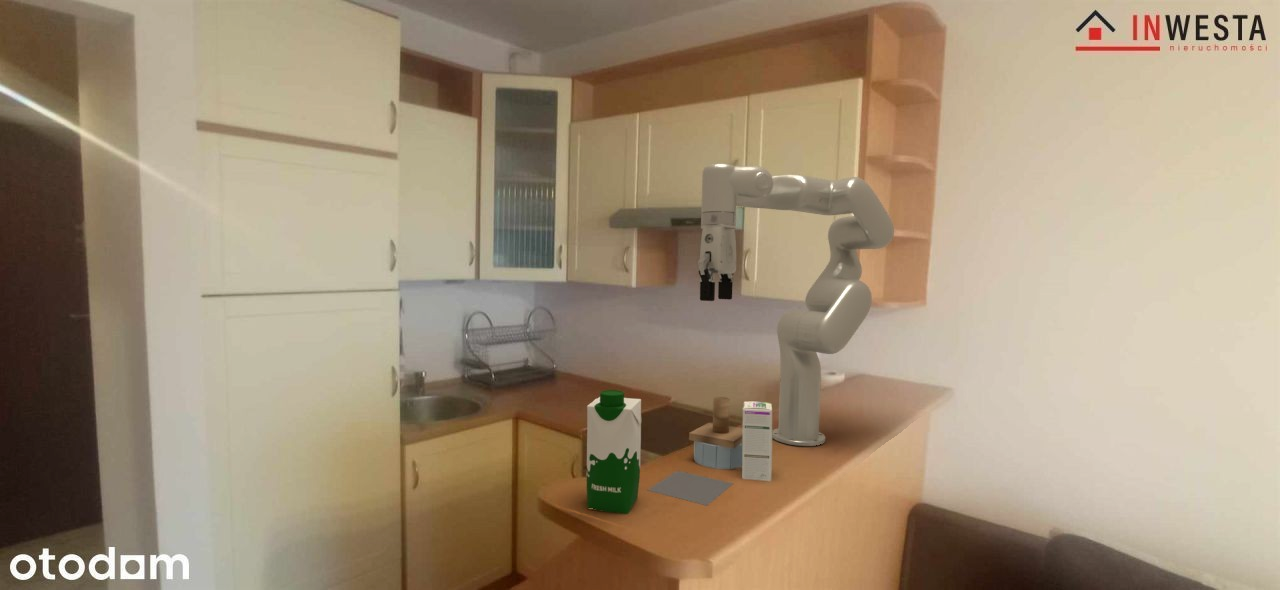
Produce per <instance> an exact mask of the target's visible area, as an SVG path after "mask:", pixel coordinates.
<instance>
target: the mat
mask: <svg viewBox="0 0 1280 590" xmlns="http://www.w3.org/2000/svg"><path fill="white" fill-rule="evenodd" d="M733 485H734V482H729V481H725V480H720V479H717V478H712V477H707V476H702V475H699V474H694V473H689V472H685V471H681V470H675V471H674V472H673V473H671V474H670V475H668V476H667V477H665V478H664V479H662V480H660V481H658V483H655V484H654V485H653V486H651V487H649V488H648V489H647V491H649V492H652V493H655V494H656V493H657V494H659V495H660V494H661V495H663V496H668V497H672V498H675V499H680V500H683V501H688V502H690V503H695V504H699V505H703V506H706V507H708V506H709V505H710V504H711V503H712V502H713V501H715V500H716V499H717V498H718V497H720V496H721V495H722V494H723V493H724V492H725V491H727V490H728V489H729V488H730V487H732V486H733Z"/></svg>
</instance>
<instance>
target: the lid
mask: <svg viewBox="0 0 1280 590" xmlns="http://www.w3.org/2000/svg"><path fill="white" fill-rule="evenodd" d="M730 400H731V399H730V398H729V397H725V396H722V397H721V396H715V397H713V401H712V402H713V403H712V405H713V407H712V422H707V423H705V424H703V425H702V426H700V427H697V428H695V429H694V430H691V432H688V434H689V435H688V441H693V442H694V441H697V442H702V443H707V444H712V445H718V446H723V447H728V448H733V449H734V448H735V447H737V446H738V445H740V444H741V443H742V429H743V427H737V426H731V425H730V403H731V402H730Z"/></svg>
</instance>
